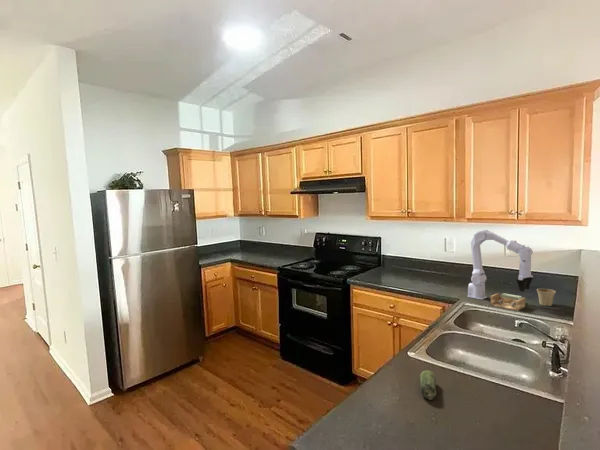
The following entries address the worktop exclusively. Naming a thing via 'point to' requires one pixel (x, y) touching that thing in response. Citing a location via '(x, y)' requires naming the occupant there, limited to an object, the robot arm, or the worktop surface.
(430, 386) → the vegetable
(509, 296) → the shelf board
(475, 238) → the robot arm
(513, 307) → the peg cradle
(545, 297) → the flower pot
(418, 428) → the worktop surface
